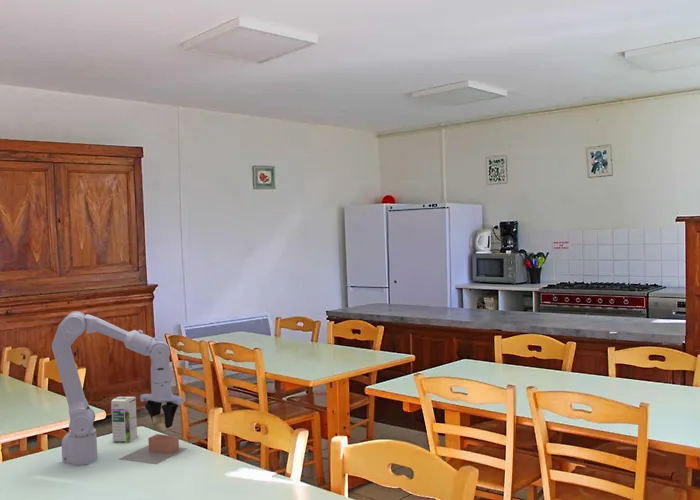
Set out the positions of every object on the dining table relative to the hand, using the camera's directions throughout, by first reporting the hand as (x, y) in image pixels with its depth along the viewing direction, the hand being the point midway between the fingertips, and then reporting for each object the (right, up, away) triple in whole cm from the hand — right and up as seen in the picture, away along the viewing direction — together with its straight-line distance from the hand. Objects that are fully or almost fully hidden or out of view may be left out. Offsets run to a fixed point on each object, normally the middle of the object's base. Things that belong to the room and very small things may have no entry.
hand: (162, 426), depth 198 cm
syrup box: (-15, -9, +12) cm, 21 cm away
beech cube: (0, -1, 0) cm, 1 cm away
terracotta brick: (0, -7, 0) cm, 7 cm away
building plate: (-2, -8, -3) cm, 9 cm away
